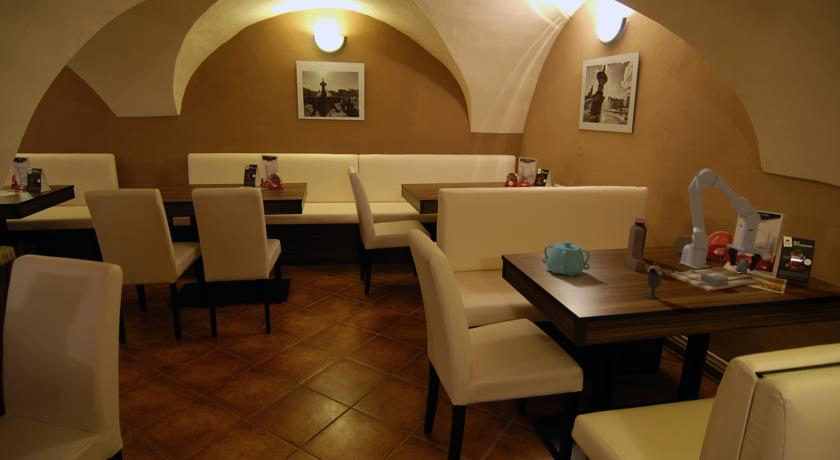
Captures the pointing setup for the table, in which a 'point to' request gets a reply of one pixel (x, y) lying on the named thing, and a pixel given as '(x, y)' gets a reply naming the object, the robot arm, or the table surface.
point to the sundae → (654, 279)
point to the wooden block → (635, 249)
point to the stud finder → (714, 279)
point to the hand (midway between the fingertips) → (742, 268)
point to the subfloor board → (732, 276)
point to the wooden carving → (682, 242)
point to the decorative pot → (566, 259)
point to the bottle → (641, 222)
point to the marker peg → (742, 265)
